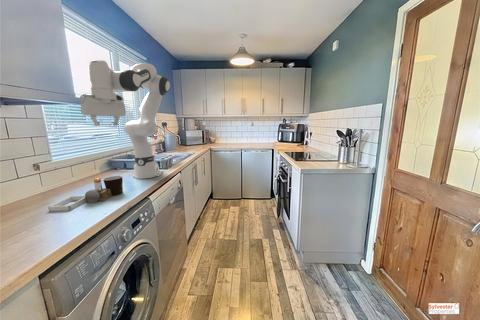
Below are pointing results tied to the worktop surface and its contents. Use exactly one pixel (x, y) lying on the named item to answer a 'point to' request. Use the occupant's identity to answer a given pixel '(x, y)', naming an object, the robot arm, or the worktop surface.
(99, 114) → the robot arm
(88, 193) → the tensioner block
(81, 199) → the parts tray
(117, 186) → the coffee mug
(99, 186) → the lock pin
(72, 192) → the worktop surface
